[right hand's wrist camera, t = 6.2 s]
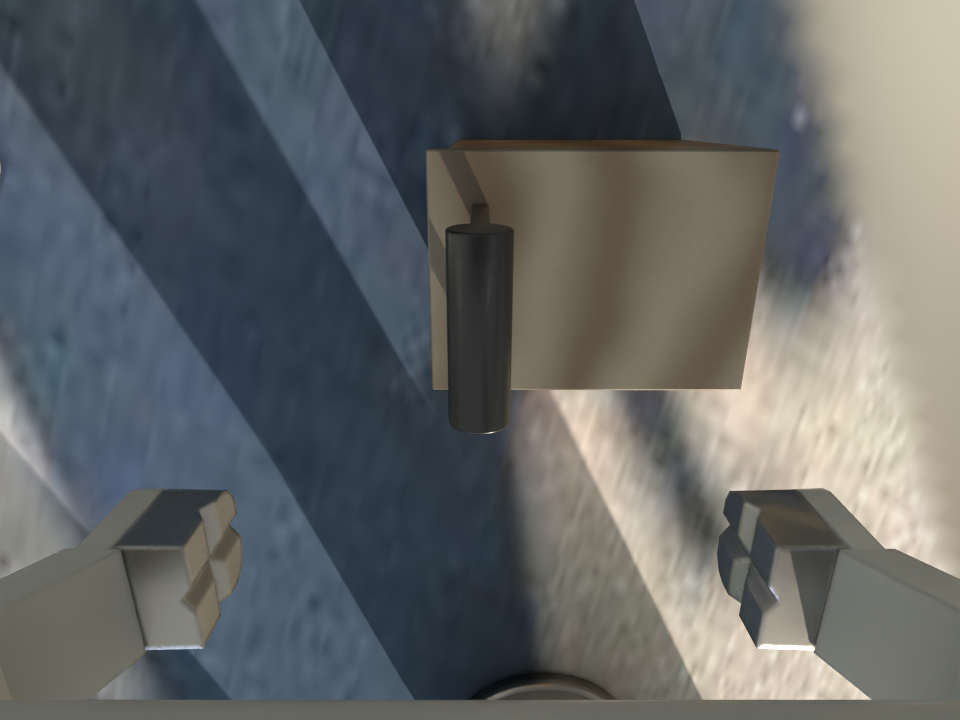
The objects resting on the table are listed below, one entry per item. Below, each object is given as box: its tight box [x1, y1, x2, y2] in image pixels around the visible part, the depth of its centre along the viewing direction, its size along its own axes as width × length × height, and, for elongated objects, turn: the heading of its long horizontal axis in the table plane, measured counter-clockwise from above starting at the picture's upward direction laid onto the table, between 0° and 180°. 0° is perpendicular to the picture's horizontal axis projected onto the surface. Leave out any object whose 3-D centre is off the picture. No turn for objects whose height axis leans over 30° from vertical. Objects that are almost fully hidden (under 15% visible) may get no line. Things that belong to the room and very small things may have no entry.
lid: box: [425, 148, 780, 435], centre depth 23 cm, size 14×10×9 cm
